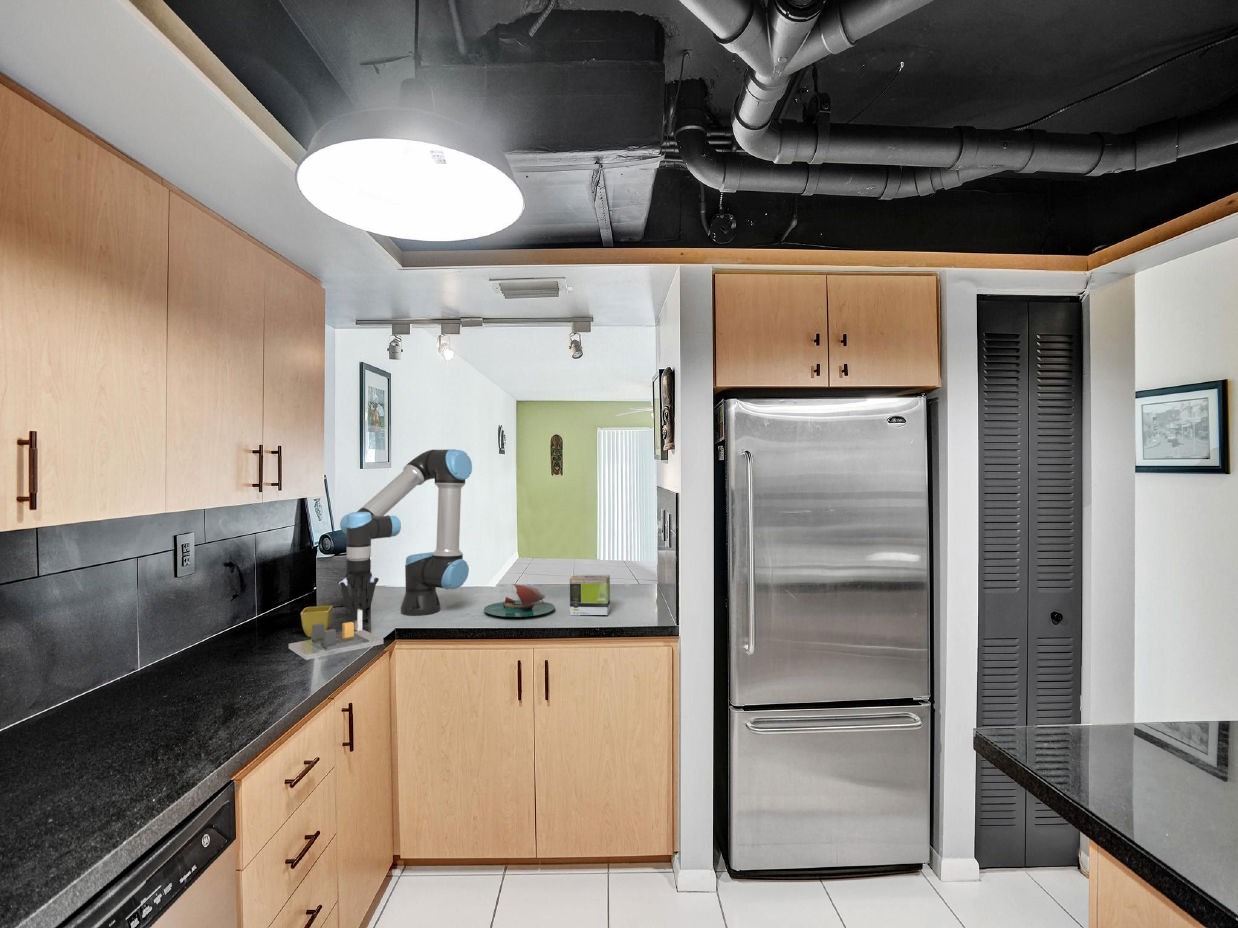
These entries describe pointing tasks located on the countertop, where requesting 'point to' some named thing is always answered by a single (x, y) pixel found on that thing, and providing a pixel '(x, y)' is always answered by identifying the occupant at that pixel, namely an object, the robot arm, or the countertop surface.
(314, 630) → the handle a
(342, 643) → the panel
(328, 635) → the handle
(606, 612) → the tea box
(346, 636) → the orange upright block
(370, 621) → the countertop surface
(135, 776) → the countertop surface
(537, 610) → the sailing ship model
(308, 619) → the flower pot
